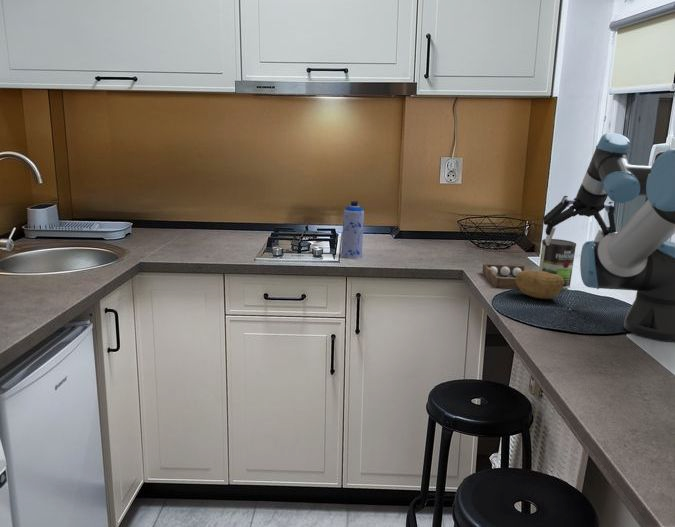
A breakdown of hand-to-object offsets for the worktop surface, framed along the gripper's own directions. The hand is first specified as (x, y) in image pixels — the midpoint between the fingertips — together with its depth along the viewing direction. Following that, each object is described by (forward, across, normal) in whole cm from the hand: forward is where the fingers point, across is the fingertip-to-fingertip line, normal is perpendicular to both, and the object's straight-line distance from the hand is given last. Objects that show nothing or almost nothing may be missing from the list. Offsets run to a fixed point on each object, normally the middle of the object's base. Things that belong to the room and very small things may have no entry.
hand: (570, 245), depth 184 cm
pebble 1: (+26, +16, -10) cm, 32 cm away
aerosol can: (+36, +64, -21) cm, 77 cm away
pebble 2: (+25, +12, -11) cm, 30 cm away
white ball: (+25, +8, -11) cm, 29 cm away
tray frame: (+22, +12, -5) cm, 26 cm away
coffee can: (+21, -2, -5) cm, 21 cm away
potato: (+13, +7, +11) cm, 18 cm away
